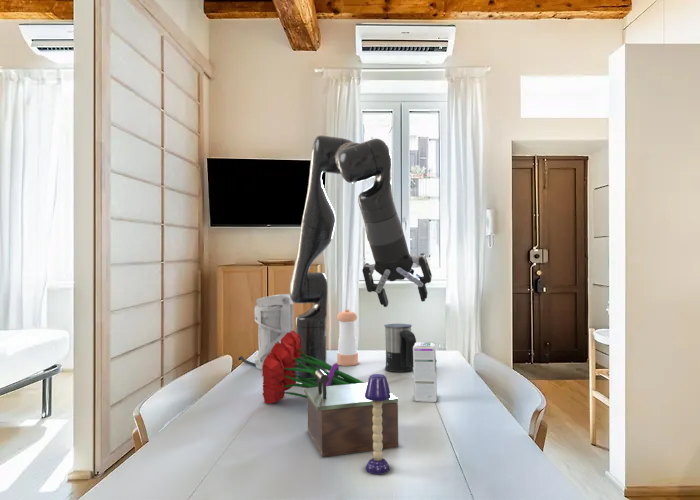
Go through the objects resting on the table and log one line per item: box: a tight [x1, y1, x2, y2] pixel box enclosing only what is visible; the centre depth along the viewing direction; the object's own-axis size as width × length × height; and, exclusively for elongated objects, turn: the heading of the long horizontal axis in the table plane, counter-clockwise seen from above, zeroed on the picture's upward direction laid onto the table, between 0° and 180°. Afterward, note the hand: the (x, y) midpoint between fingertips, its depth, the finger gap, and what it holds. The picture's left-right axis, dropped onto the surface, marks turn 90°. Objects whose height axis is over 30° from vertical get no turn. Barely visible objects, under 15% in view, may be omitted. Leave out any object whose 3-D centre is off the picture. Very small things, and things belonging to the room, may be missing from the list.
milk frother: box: [383, 323, 437, 373], centre depth 163 cm, size 14×16×15 cm
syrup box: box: [412, 341, 438, 403], centre depth 129 cm, size 6×6×14 cm
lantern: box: [254, 293, 294, 370], centre depth 169 cm, size 13×10×25 cm
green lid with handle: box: [303, 370, 399, 411], centre depth 101 cm, size 16×14×6 cm
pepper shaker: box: [336, 308, 359, 367], centre depth 173 cm, size 7×7×19 cm
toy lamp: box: [365, 373, 392, 475], centre depth 87 cm, size 5×5×17 cm
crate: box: [307, 398, 399, 458], centre depth 101 cm, size 16×14×9 cm
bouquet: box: [261, 330, 365, 404], centre depth 125 cm, size 20×16×30 cm
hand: (404, 302), depth 108 cm, fingers open, 8 cm apart
